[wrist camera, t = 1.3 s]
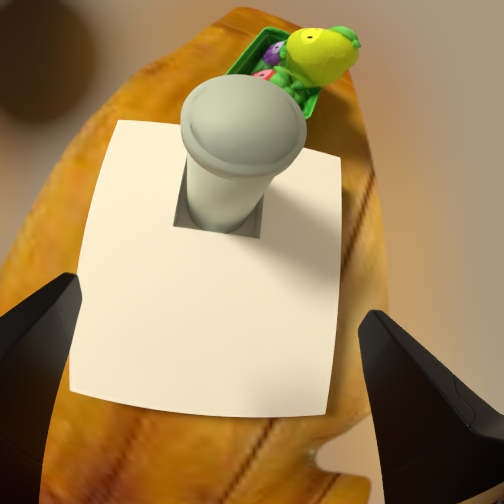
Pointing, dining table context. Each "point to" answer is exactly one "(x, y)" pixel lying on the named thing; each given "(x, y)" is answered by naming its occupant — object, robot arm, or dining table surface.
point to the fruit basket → (299, 60)
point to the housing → (207, 287)
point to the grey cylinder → (236, 146)
